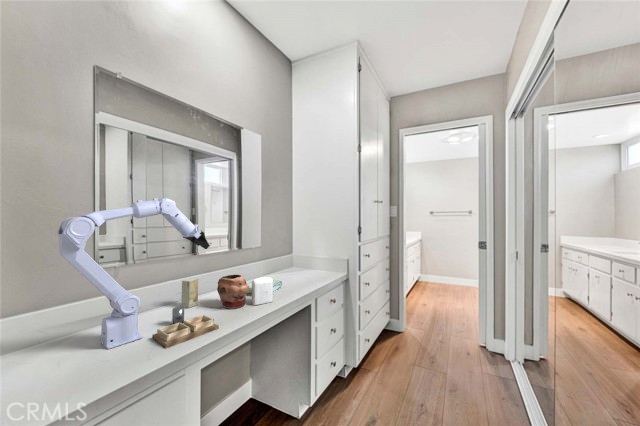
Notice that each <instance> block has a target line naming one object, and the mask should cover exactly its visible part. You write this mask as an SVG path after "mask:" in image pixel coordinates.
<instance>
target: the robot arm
mask: <svg viewBox="0 0 640 426" xmlns="http://www.w3.org/2000/svg"><path fill="white" fill-rule="evenodd" d="M158 215H161V216H162V217H164V219H165V220H166V221H167V222H168V223H169V224H170V225H171V226H173V228H174V229H176V231H178V232H179V234H181V236H182V238H183V239H186V240H188V241H190V242H191V243H193V244H194V245H196V246H198V247H201V248H203V249H204V250H207V249H209V248H210V246H211V245H210V243H209V242H208V240H207V238H206V235H205V232H204V231H200V232H199V231H198V227H199V225H198V224H197V223H194V224H193V222H191V220H190V219H189V218H187V216H186V215H185V214H184V213H183V212H182V211H181V210H180V209H179V208H178V207H177V203H176V201H175V200H172V199H171V198H168V197H167V198H166V197H165V198H164V197H163V198H156V197H155V198H152V199H150V200H142V199H138V200H136V201H135V202H132V204H131V205H130V206H128V207H120V208H119V207H118V208H112V209H111V208H110V209H103V210H96V211H92V212H86V213H84V214H79V215H78V216H70V217H67V218H65V219H64V220H63V221H62V222H61V224H60V225H59V228H58V230H57V236H58V247H59V250H58V251H59V252H58V253H59V255H60V256H61V257H62V258H63V259H64V260H66V262H67V263H69V264H70V265H71V266H72V267H73V268H74V269H75V270H76V271H77V272H79V273H80V274H81V275H82V276H83V277H84V278H85V279H86V281H87V280H88V282H89V283H90V284H91V285H93V286H94V287H95V288H96V289H97V290H98V291H99V292H100V293H102V294H103V295H104V297H105V298H107V300H108V301H109V306H110V307H111V308H112V309H113V310H112V312H111V313H110V315H109V316H107V317H104V318H102V320H101V334H100V335H101V336H100V337H101V338H100V343H101V344H102V345H103V346H104V347H105V348H106V349H108V350H109V349H112V348H116V347H119V346H121V345H125V344H128V343H131V342H134V341H137V340H141V339H142V338H143V335H141V334H140V333H138V332H139V331H138V326H139V325H138V324H139V322H138V321H139V308H140V307H141V305H142V304H141V298H140V297H139V296H137V295H135V294H133V293H130V291H127V290H126V289H125V288H124V287H123V286H121V285H120V284H119V282H117V281H116V280H115V279H114V278H113V276H111V274H109V273H108V272H107V271H106V270H105V269H104V268H102V266H101V265H100V264H98V263H97V262H96V261H95V260H94V259H93V258H92V257H91V256H90V255H89V254H88V253H87V252H86V250H85V248H86V245H87V241H88V240H89V238H90V237H91V236H92V235H93V234H94V232H95V229H96V228H100V226H102V225H103V224H104V223H105V222H108V221H112V220H116V219H117V220H118V219H121V218H122V219H123V218H126V217H127V218H128V217H134V218H136V219H143V218H147V217H148V218H149V217H154V216H158Z"/></svg>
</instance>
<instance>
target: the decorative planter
mask: <svg viewBox="0 0 640 426" xmlns="http://www.w3.org/2000/svg"><path fill="white" fill-rule="evenodd" d="M247 283H248V282H247V280H246V277H245V276H244V275H242V274H229V275H225V276H222V277H220V278H219V279H218V280H217V288H216V290H217V294H218V296H219V299H220V301H221V304H222V307H223V308H225V309H238V308H241V307H244V306H245V305H246V300H247V297H246V296H247V295H245V294H246V292H248V291H249V286H248V284H247Z"/></svg>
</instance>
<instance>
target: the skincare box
mask: <svg viewBox="0 0 640 426" xmlns="http://www.w3.org/2000/svg"><path fill="white" fill-rule="evenodd" d="M180 303H181V305H180V307H184V309H191V308H192V307H194V306H197V305H198V303H199V278H196V277H195V278H193V277H190V278H187V279H183V280H181V299H180Z"/></svg>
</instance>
